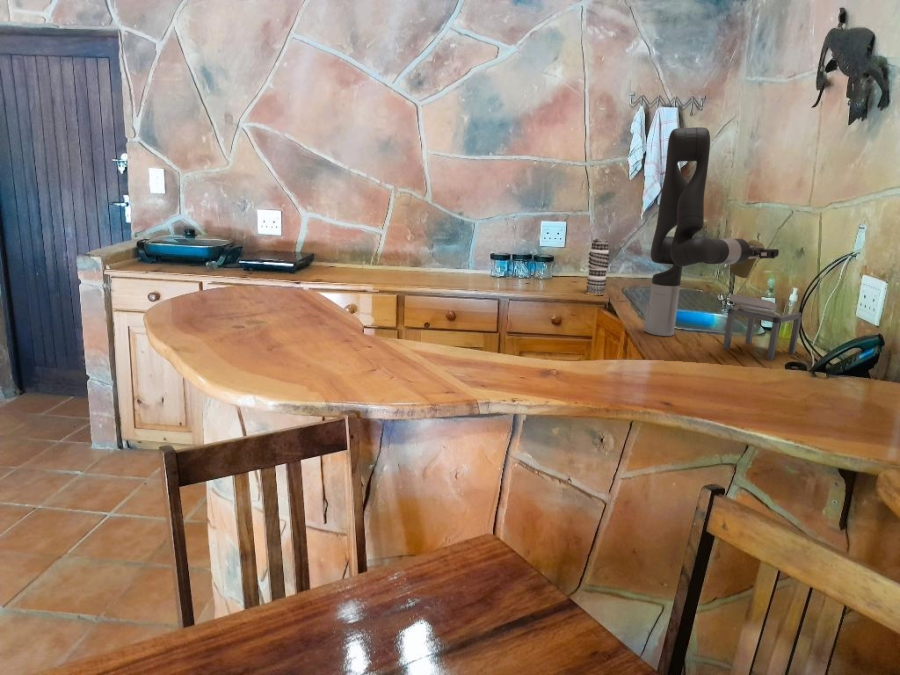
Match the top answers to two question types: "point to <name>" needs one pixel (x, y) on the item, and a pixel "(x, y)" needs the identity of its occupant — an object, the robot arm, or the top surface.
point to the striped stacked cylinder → (598, 266)
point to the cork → (745, 263)
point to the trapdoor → (755, 305)
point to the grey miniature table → (774, 330)
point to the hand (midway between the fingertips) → (764, 251)
